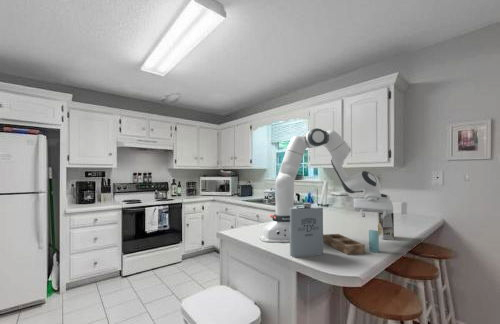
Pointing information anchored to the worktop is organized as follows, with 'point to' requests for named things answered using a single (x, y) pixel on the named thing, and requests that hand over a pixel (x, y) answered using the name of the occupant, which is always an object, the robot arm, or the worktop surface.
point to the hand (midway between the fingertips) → (373, 217)
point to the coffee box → (386, 226)
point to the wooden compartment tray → (344, 244)
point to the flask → (306, 231)
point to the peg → (373, 241)
